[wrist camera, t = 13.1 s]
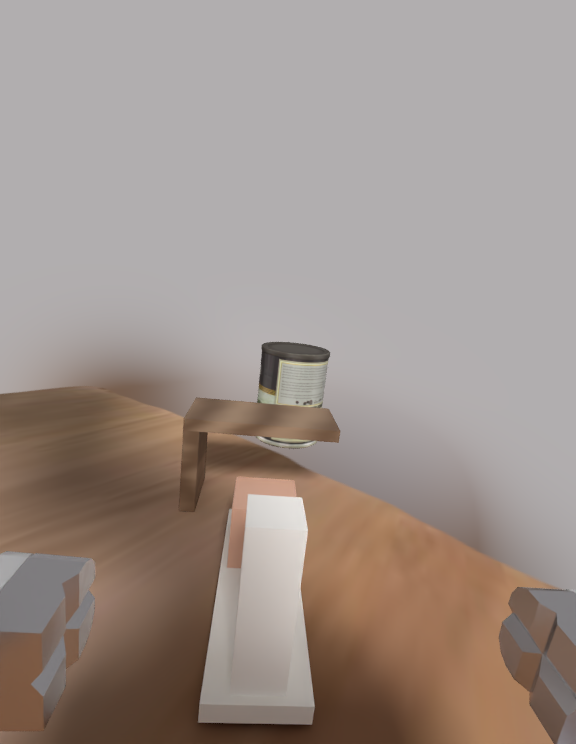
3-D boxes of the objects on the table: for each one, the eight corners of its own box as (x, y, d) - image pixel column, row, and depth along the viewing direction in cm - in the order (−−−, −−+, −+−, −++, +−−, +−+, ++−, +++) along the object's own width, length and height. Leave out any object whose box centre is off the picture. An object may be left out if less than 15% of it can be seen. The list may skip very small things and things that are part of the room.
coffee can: (240, 436, 60) (248, 344, 57) (273, 419, 69) (282, 339, 66) (301, 455, 55) (313, 357, 52) (328, 434, 64) (340, 350, 61)
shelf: (178, 510, 39) (183, 418, 37) (191, 477, 46) (196, 397, 44) (327, 519, 40) (340, 431, 38) (318, 485, 47) (328, 408, 45)
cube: (227, 567, 30) (232, 508, 29) (232, 528, 35) (236, 476, 34) (292, 570, 30) (299, 512, 29) (288, 531, 35) (294, 480, 34)
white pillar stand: (197, 722, 20) (212, 531, 18) (228, 519, 38) (237, 409, 36) (312, 724, 21) (340, 538, 19) (290, 523, 38) (303, 415, 36)
